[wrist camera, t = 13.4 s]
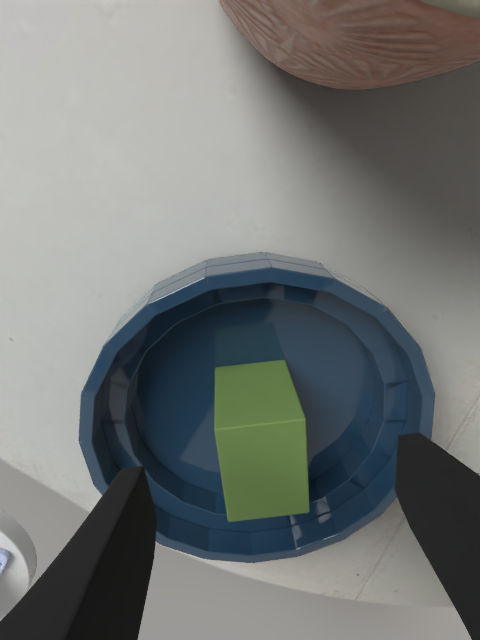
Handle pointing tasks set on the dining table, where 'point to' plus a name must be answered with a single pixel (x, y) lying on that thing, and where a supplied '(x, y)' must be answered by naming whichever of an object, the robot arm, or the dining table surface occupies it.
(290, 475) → the scrub pad
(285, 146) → the dining table surface
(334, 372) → the bowl
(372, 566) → the dining table surface
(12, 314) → the dining table surface
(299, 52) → the planter
